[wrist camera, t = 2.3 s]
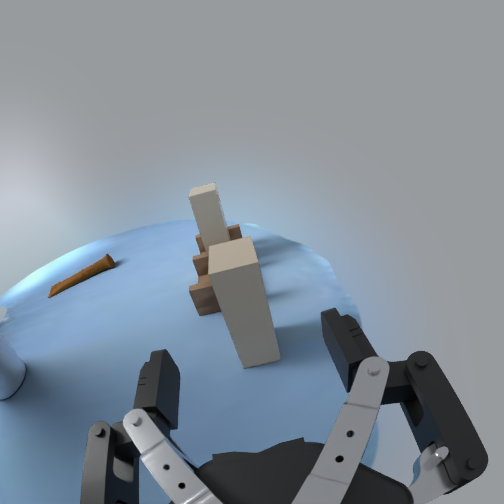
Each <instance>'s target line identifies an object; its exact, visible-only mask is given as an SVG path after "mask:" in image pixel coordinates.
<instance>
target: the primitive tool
mask: <svg viewBox="0 0 504 504" xmlns="http://www.w3.org/2000/svg"><path fill="white" fill-rule="evenodd" d="M113 267H114V261H113V259H112V258H111V257H110V256H109V254H106V256H105V257H104V258H103V259H101V260H99V261H98V262H96V263H94V264H93V265H91V266H89V267H87V268H85V269H84V270H82V271H80V272H78V273H77V274H75V275H73V276H72V277H70V278H67V279H66V280H64V281H62V282H58V283H57V284H55V285H54V286H52V288H51V291H50V294H49V296H48V298H51V297H53V296H55V295H57V294H58V293H60V292H62V291H64V290H66V289H68V288H70V287H71V286H73V285H75V284H77V283H79V282H81V281H83V280H86V279H88V278H89V277H91V276H93V275H95V274H97V273H99V272H101V271H103V270H106V269H109V268H110V269H111V268H113Z"/></svg>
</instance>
